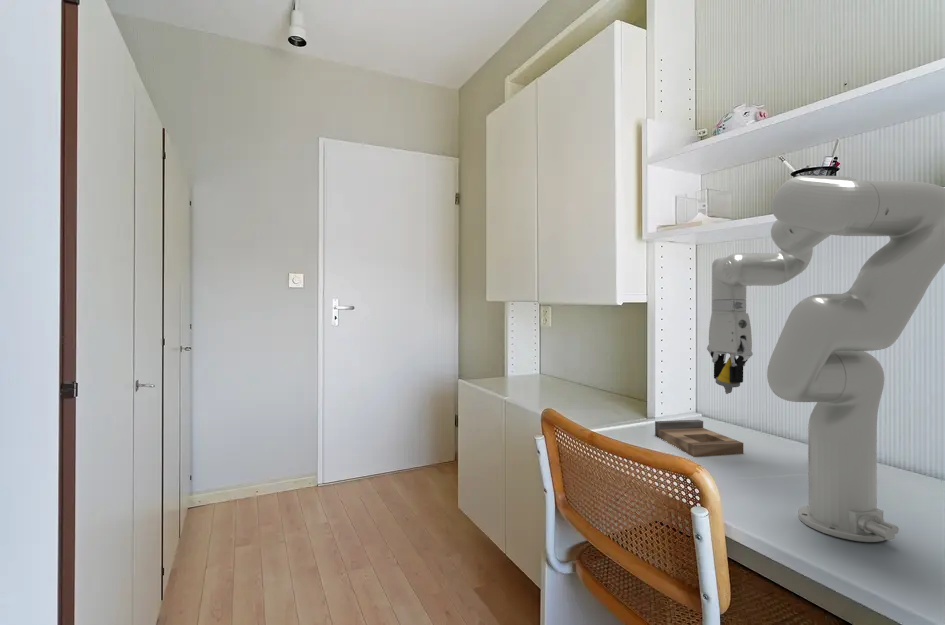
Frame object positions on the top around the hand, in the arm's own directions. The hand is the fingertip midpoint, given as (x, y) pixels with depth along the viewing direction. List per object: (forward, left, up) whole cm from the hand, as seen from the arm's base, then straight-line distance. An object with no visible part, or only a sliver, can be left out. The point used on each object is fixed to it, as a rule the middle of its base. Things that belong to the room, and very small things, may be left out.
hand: (728, 379), depth 115 cm
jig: (+12, 0, -20) cm, 23 cm away
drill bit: (+1, 0, -4) cm, 4 cm away
